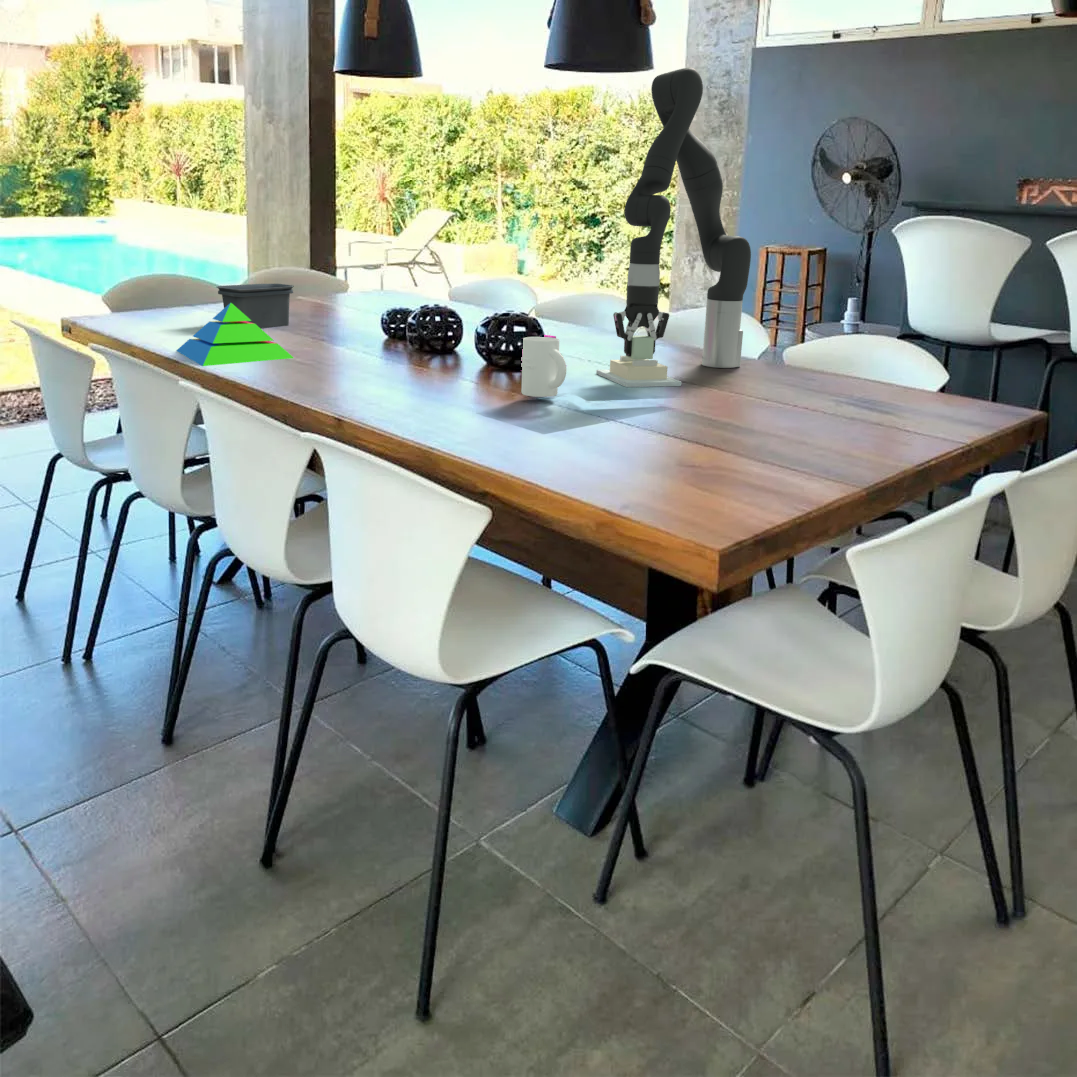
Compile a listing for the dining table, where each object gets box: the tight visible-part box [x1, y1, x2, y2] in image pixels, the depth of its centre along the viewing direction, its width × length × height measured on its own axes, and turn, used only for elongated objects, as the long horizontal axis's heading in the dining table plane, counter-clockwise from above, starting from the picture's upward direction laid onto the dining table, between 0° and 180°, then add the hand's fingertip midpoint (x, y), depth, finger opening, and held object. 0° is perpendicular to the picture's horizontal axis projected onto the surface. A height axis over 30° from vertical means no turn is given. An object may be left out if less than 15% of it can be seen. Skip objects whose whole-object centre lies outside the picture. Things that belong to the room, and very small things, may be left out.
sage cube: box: [625, 334, 654, 360], centre depth 250 cm, size 5×5×5 cm
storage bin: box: [216, 283, 294, 329], centre depth 314 cm, size 21×16×14 cm
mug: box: [521, 336, 567, 398], centre depth 225 cm, size 8×12×12 cm
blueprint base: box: [595, 355, 682, 388], centre depth 251 cm, size 14×20×5 cm
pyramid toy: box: [175, 303, 295, 367], centre depth 268 cm, size 25×25×14 cm
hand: (639, 355), depth 250 cm, fingers closed on sage cube, 4 cm apart
